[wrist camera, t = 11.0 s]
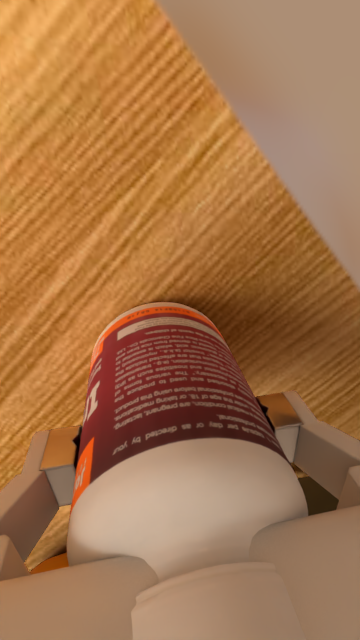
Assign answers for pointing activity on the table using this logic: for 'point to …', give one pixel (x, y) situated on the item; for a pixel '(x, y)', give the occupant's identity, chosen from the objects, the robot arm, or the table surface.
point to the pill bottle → (182, 479)
